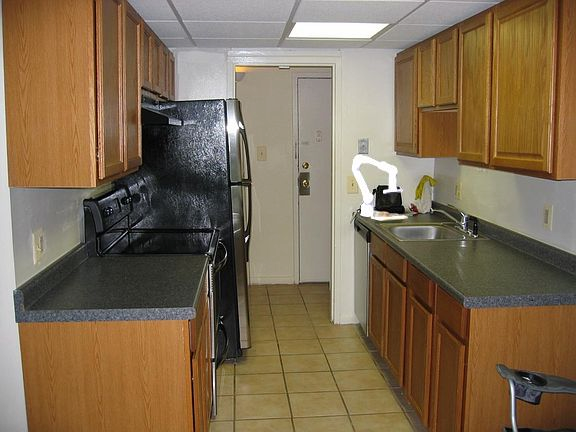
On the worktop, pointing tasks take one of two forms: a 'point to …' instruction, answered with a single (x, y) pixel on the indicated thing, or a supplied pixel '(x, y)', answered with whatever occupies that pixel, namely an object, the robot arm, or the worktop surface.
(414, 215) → the worktop surface
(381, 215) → the carriage
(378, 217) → the gauge board
